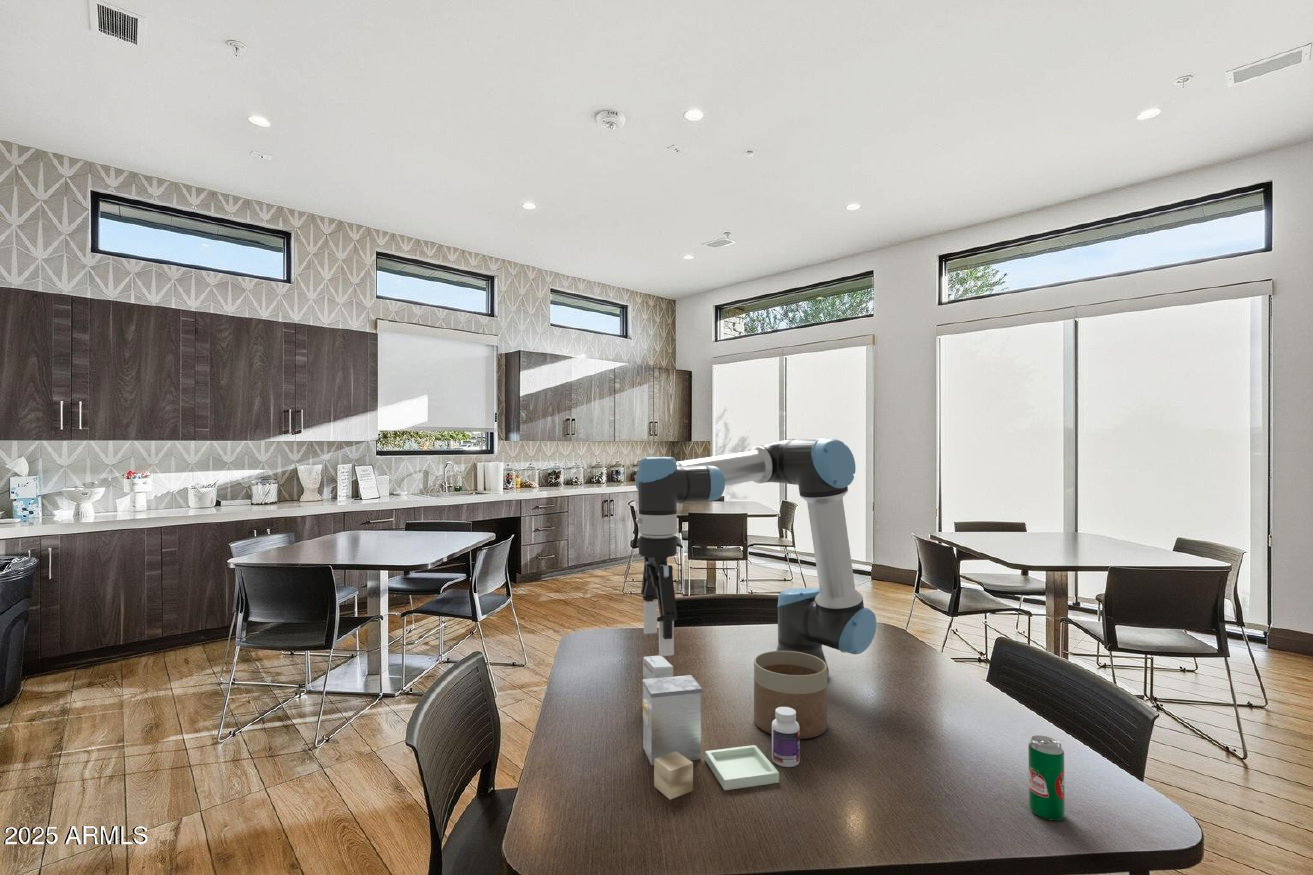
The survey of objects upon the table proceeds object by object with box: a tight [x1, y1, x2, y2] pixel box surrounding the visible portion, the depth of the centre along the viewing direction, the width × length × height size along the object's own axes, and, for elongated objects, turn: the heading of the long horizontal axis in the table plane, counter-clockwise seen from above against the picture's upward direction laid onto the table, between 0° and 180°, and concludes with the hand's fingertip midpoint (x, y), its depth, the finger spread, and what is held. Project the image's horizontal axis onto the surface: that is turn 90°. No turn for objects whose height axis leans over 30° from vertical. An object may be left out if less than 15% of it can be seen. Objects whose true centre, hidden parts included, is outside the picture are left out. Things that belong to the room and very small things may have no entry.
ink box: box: [642, 654, 674, 700], centre depth 139 cm, size 9×5×12 cm, turn 20°
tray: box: [704, 744, 780, 791], centre depth 113 cm, size 11×11×2 cm
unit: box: [641, 674, 703, 766], centre depth 120 cm, size 11×7×14 cm
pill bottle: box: [771, 707, 801, 768], centre depth 117 cm, size 5×5×10 cm
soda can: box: [1027, 735, 1066, 821], centre depth 101 cm, size 5×5×12 cm
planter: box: [753, 650, 828, 740], centre depth 133 cm, size 16×16×14 cm
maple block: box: [653, 751, 694, 800], centre depth 107 cm, size 5×5×5 cm
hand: (658, 643), depth 118 cm, fingers open, 13 cm apart
